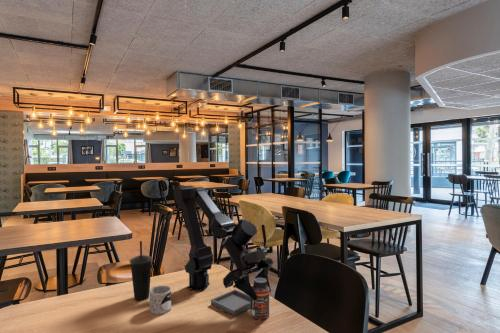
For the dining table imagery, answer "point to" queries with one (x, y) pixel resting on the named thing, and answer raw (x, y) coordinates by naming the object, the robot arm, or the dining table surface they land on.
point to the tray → (232, 302)
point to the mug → (160, 300)
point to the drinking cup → (141, 275)
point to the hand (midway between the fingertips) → (263, 296)
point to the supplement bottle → (260, 299)
